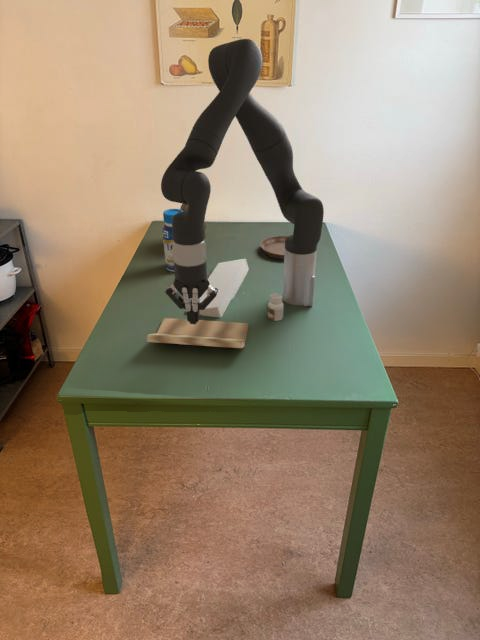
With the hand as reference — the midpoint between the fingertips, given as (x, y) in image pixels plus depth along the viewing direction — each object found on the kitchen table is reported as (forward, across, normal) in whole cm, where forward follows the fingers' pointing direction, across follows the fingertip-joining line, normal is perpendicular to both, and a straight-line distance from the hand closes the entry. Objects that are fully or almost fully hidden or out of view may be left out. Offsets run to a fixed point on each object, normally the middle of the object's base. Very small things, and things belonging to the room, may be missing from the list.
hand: (193, 322), depth 125 cm
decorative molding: (+11, 0, -36) cm, 37 cm away
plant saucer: (+10, -19, -70) cm, 73 cm away
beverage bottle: (+10, +17, -52) cm, 55 cm away
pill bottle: (+10, -19, -20) cm, 30 cm away
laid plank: (+10, 0, -11) cm, 15 cm away
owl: (+10, +17, -70) cm, 73 cm away
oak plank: (+8, 0, -2) cm, 8 cm away
